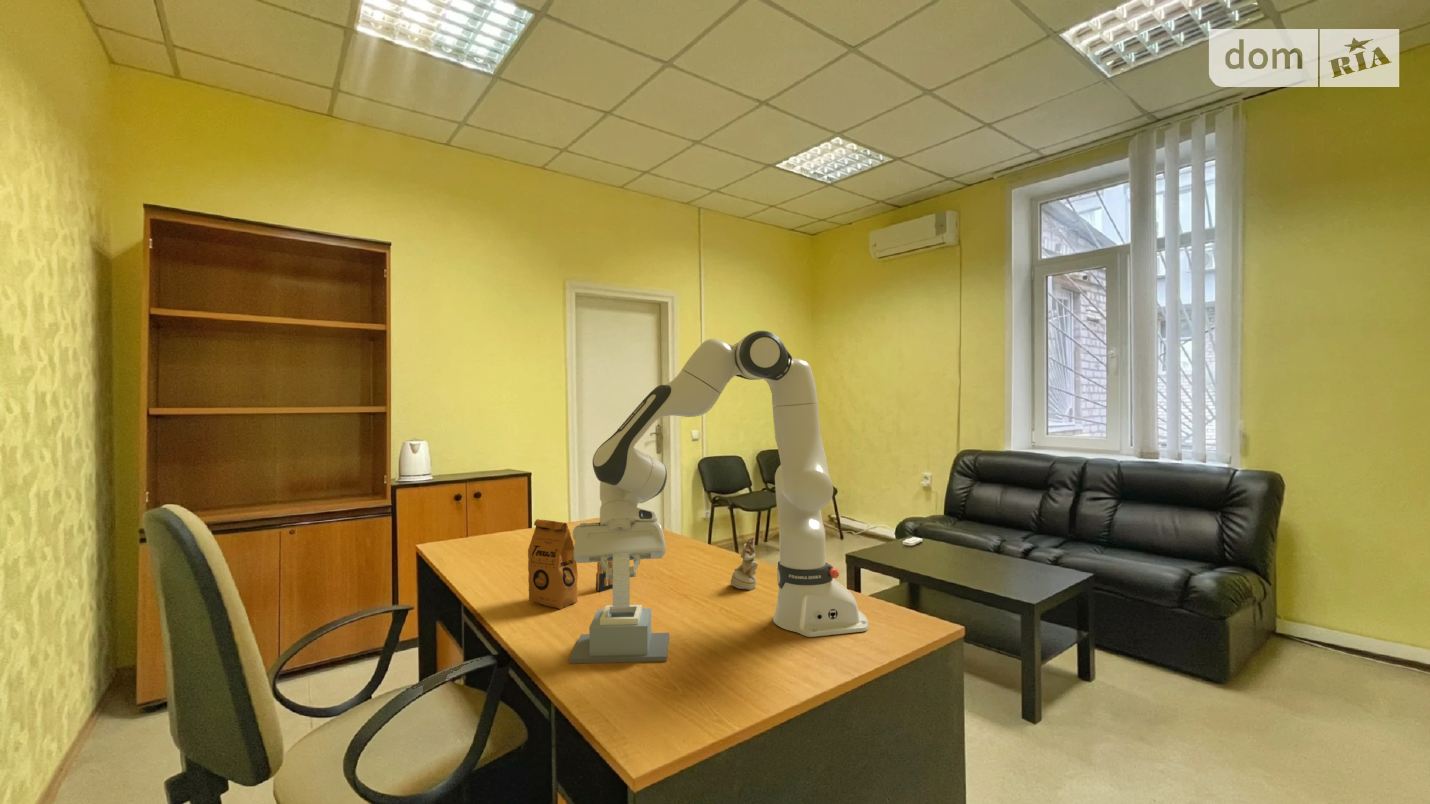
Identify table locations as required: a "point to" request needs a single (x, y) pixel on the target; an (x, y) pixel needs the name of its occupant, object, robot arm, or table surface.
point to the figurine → (746, 568)
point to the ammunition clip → (603, 578)
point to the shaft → (621, 580)
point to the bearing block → (621, 641)
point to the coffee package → (552, 565)
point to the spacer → (621, 620)
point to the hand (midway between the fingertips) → (621, 576)
